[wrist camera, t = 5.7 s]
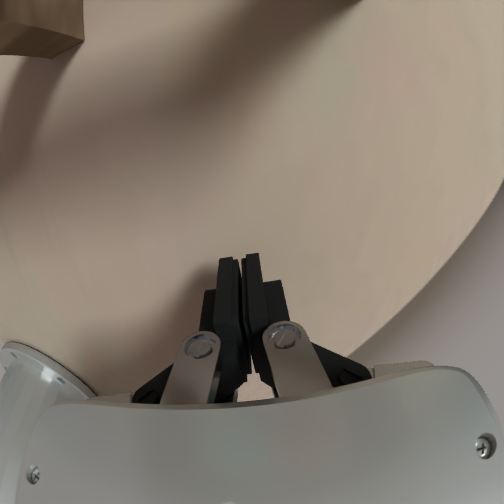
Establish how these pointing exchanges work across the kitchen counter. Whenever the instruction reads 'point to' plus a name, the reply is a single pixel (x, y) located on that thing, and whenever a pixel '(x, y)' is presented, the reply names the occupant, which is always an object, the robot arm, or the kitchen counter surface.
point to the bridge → (40, 27)
